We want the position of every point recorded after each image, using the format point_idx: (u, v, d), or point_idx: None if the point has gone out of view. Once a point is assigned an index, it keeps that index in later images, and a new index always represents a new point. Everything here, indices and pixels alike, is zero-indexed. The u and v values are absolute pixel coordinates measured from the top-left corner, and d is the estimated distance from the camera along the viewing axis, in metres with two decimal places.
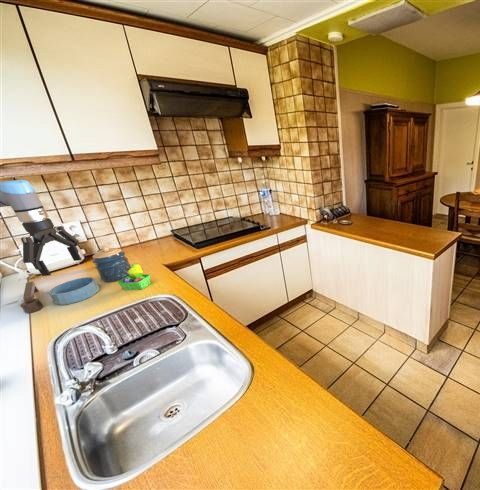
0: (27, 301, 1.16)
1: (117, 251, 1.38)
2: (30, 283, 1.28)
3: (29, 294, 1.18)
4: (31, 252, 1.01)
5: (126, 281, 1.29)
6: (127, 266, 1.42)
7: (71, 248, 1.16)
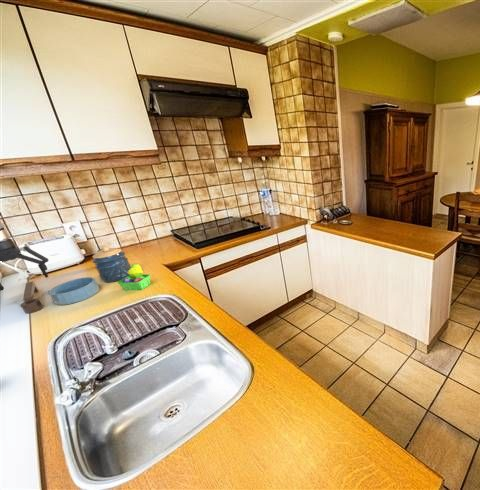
0: (27, 301, 1.16)
1: (117, 251, 1.38)
2: (30, 283, 1.28)
3: (29, 294, 1.18)
4: None
5: (126, 281, 1.29)
6: (127, 266, 1.42)
7: None
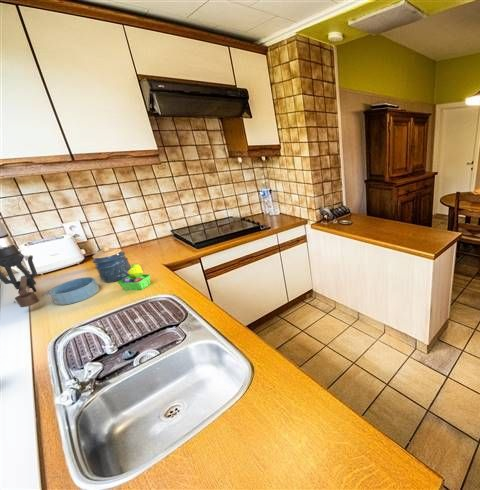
0: (22, 295, 1.15)
1: (117, 251, 1.38)
2: (25, 276, 1.26)
3: (24, 288, 1.17)
4: (0, 276, 1.17)
5: (126, 281, 1.29)
6: (127, 266, 1.42)
7: (27, 280, 1.23)
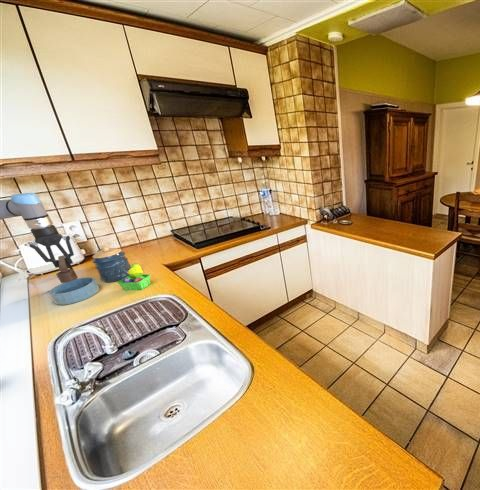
0: (62, 271, 1.21)
1: (117, 251, 1.38)
2: (62, 256, 1.33)
3: (64, 265, 1.24)
4: (41, 255, 1.23)
5: (126, 281, 1.29)
6: (127, 266, 1.42)
7: (65, 259, 1.30)
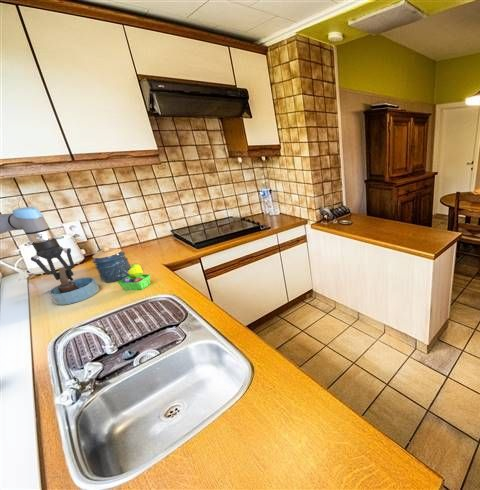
0: (64, 284, 1.23)
1: (117, 251, 1.38)
2: (63, 268, 1.34)
3: (65, 278, 1.25)
4: (43, 268, 1.24)
5: (126, 281, 1.29)
6: (127, 266, 1.42)
7: None
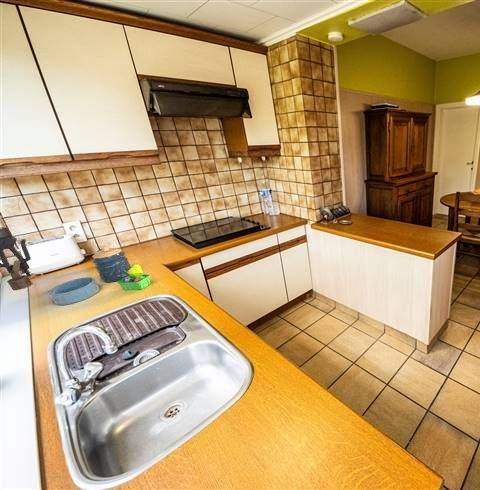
0: (15, 277, 1.12)
1: (117, 251, 1.38)
2: (19, 261, 1.24)
3: (17, 271, 1.14)
4: None
5: (126, 281, 1.29)
6: (127, 266, 1.42)
7: (20, 265, 1.20)
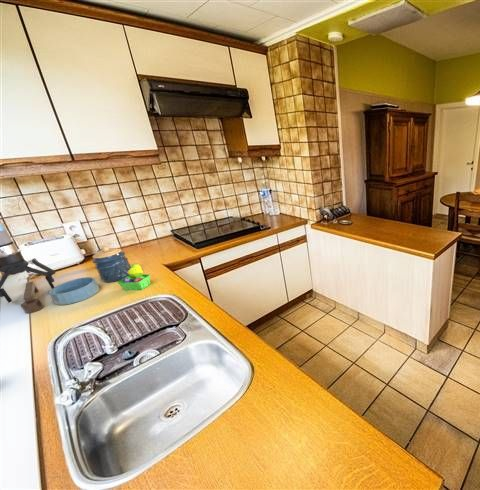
0: (27, 301, 1.16)
1: (117, 251, 1.38)
2: (30, 283, 1.28)
3: (29, 294, 1.18)
4: None
5: (126, 281, 1.29)
6: (127, 266, 1.42)
7: (46, 278, 1.27)
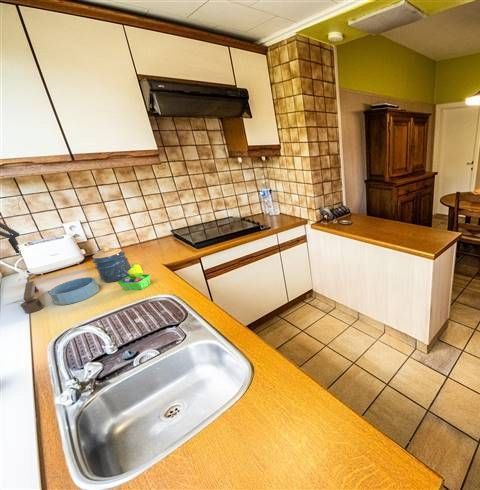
0: (27, 301, 1.16)
1: (117, 251, 1.38)
2: (30, 283, 1.28)
3: (29, 294, 1.18)
4: None
5: (126, 281, 1.29)
6: (127, 266, 1.42)
7: (8, 240, 1.19)
